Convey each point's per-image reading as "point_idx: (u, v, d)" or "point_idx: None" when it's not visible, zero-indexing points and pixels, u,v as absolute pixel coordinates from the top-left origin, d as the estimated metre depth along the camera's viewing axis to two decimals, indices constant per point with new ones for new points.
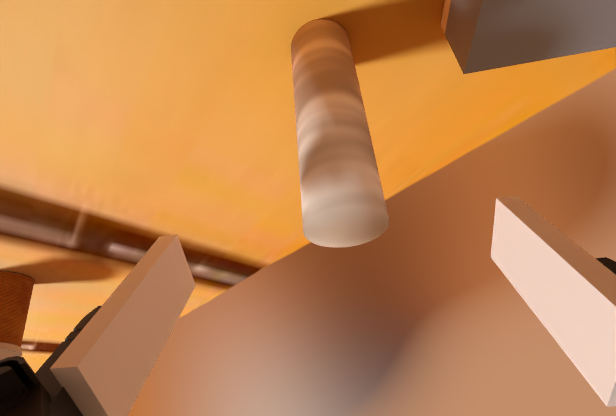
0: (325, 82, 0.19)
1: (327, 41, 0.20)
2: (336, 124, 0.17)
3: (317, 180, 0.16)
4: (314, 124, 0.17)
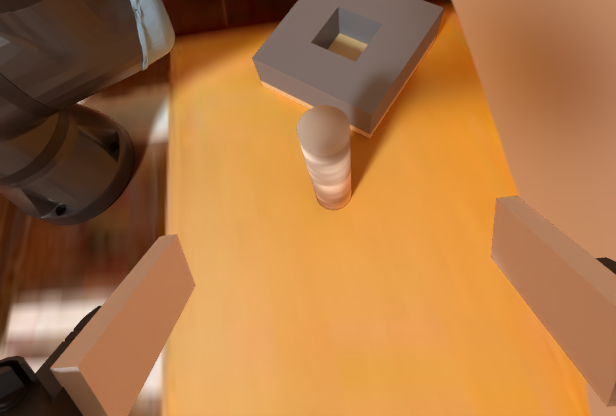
0: None
1: None
2: None
3: None
4: None
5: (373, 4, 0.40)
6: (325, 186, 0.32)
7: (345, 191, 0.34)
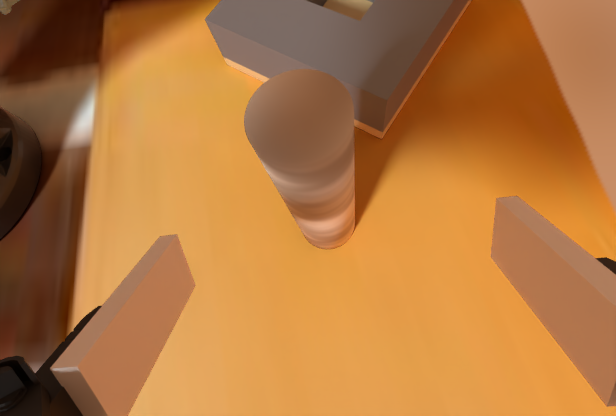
0: None
1: None
2: None
3: None
4: None
5: None
6: (311, 221, 0.18)
7: (345, 225, 0.21)
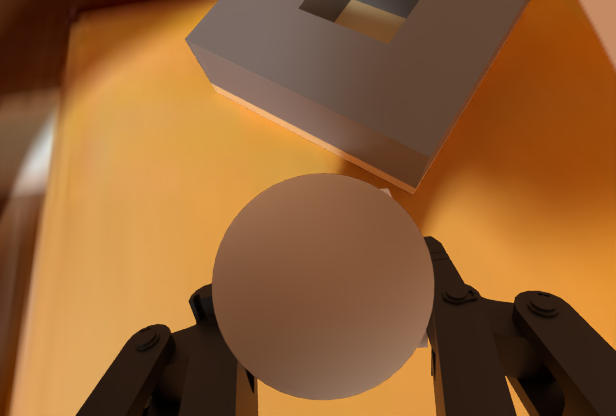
0: None
1: None
2: None
3: None
4: None
5: None
6: None
7: None
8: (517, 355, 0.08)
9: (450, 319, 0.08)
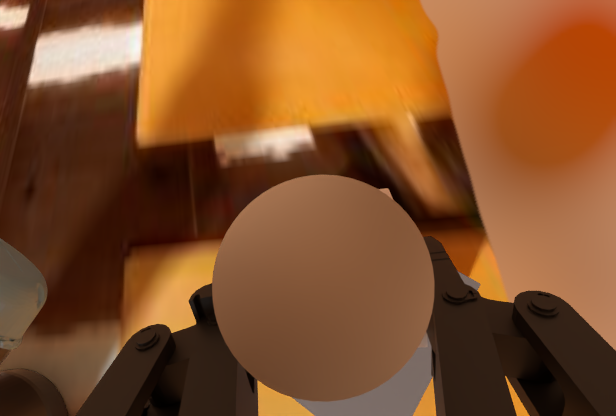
0: None
1: None
2: None
3: None
4: None
5: None
6: None
7: None
8: (517, 355, 0.08)
9: (450, 319, 0.08)
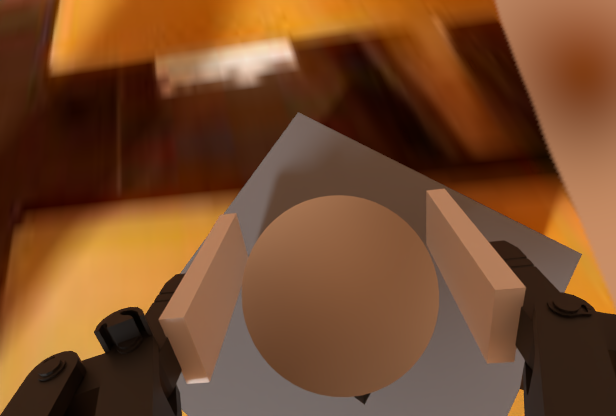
0: None
1: None
2: None
3: None
4: None
5: None
6: None
7: None
8: None
9: (556, 332, 0.08)
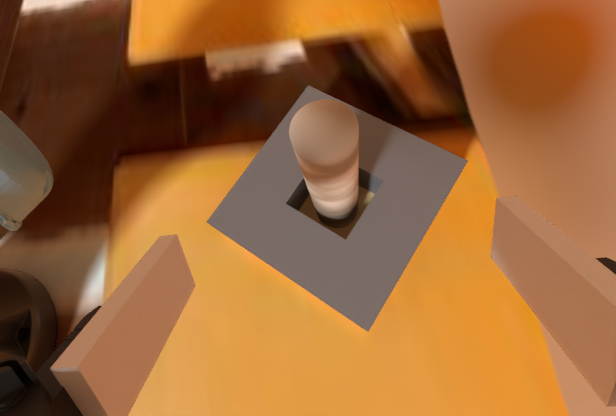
0: None
1: None
2: None
3: None
4: None
5: (370, 149, 0.30)
6: (327, 201, 0.25)
7: (351, 207, 0.28)
8: None
9: None
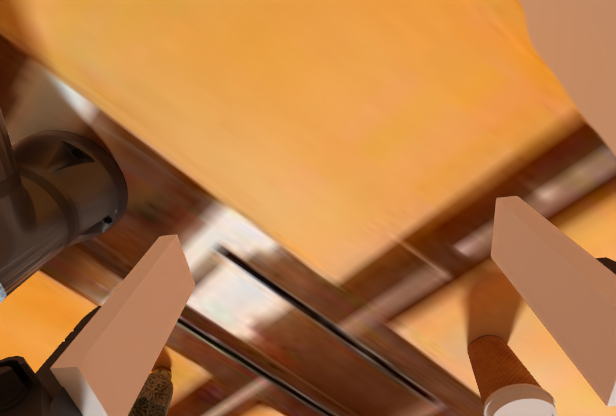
0: None
1: None
2: None
3: None
4: None
5: None
6: None
7: None
8: None
9: None
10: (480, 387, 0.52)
